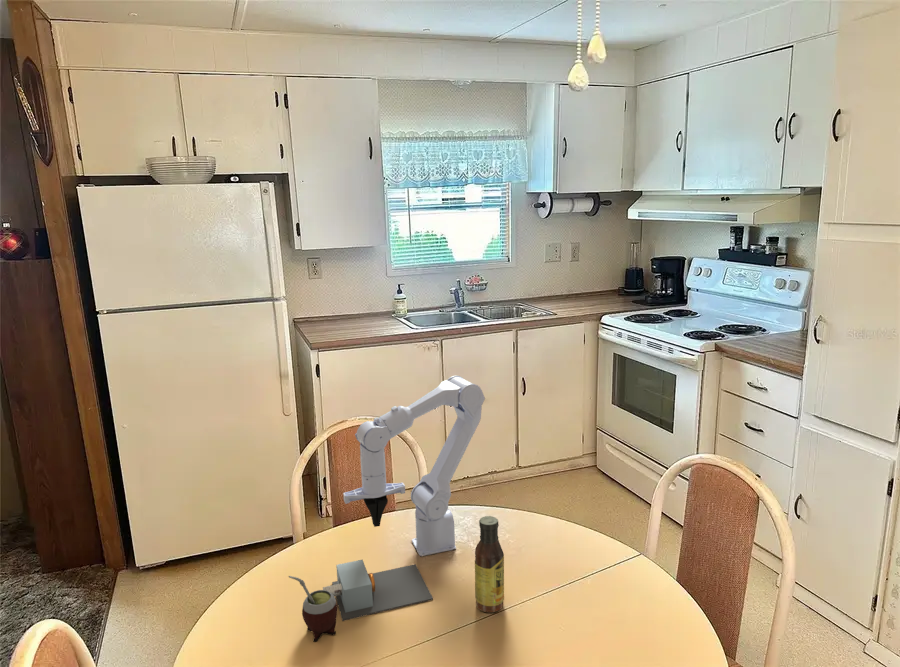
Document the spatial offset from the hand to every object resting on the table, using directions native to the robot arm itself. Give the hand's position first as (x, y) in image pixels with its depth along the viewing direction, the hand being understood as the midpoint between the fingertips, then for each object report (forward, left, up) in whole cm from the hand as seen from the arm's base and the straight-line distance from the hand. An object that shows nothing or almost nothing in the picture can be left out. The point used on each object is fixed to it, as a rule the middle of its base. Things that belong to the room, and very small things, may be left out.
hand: (376, 524), depth 152 cm
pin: (+9, +12, -9) cm, 18 cm away
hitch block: (+8, +12, -10) cm, 17 cm away
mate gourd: (+17, +21, -10) cm, 29 cm away
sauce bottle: (-19, +25, -10) cm, 33 cm away
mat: (+2, +12, -10) cm, 16 cm away
